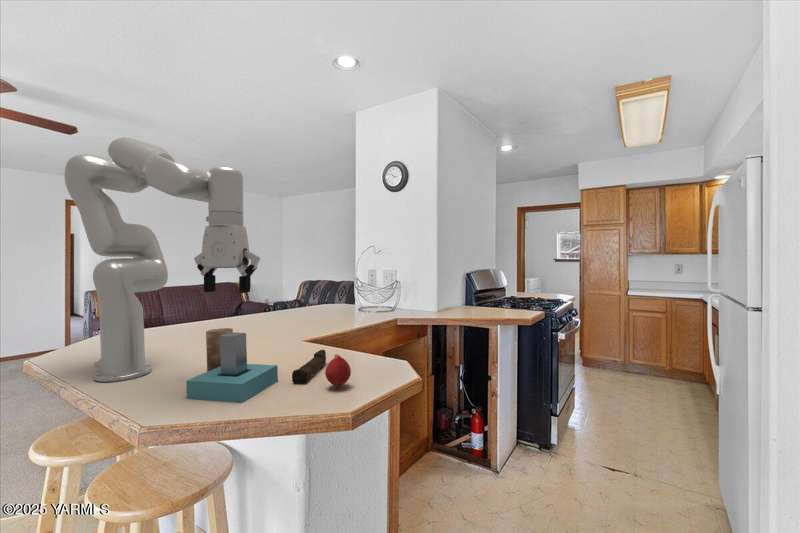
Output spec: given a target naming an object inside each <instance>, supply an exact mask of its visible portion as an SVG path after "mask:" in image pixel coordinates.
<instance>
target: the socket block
mask: <svg viewBox="0 0 800 533" xmlns="http://www.w3.org/2000/svg"><path fill="white" fill-rule="evenodd" d="M278 368H279V367H278V365H277V364H276V365H275V364H257V363H247V372H246V373H244V374H242V375H240V376H238V377H232V376H221V366H220V367H218V368H215V369H213V370H210V371H208V372H207V371H206V372H203V373H201V374H199V375H196V376H194V377H192V378H189V379H187V380H186V382H185V383H186V384H185V385H186V387H185V388H186V399H188V400H204V401H218V402H231V403H244V402H246V401H248V400H249V399H251V398H252V397H254V396H256V395H258V394H259V393H260V392H262V391H264V390H265V389H267V388H269V387H270V386H272V385H274V384H276V383H277V382H278V381H279V377H278V376H279V375H278V374H279V372H278Z"/></svg>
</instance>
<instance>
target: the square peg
mask: <svg viewBox="0 0 800 533" xmlns="http://www.w3.org/2000/svg"><path fill="white" fill-rule="evenodd" d="M247 349H248V348H247V332H234V331H233V332H231V333H228V334H225V335H221V336H220V353H221V376H232V377H238V376H240V375H242V374H244V373H246V372H247V364H248V359H247V358H248V352H247Z"/></svg>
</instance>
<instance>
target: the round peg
mask: <svg viewBox="0 0 800 533" xmlns="http://www.w3.org/2000/svg"><path fill="white" fill-rule="evenodd" d="M231 332H234V329H233V328H229V327H226V328H225V327H224V328H223V327H222V328H221V327H220V328H214V329H212V328H211V329H209V330H206V331H205V342H206V343H205V344H206V345H205V346H206V372H208V371H210V370H213V369H215V368H218V367H220V366H221V353H220V336H221V335H225V334H228V333H231Z"/></svg>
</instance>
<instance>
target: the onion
mask: <svg viewBox="0 0 800 533" xmlns="http://www.w3.org/2000/svg"><path fill="white" fill-rule="evenodd" d="M324 372H325V378H326V379H327V381H328V382H329V383H330V384H331V385H332V386H334V388H336V389H339V388H341V387H343V386H344V385H345V384H347V383H348V381H349V380H350V378H351V373H352V370H351V366H350V364H349V363H348V361H347V359H344V358H343V357H342V356H341V355H340V354H338V353H336V354H334V358H333V359H331V360H330V361H329V363H328V364H327V365H326V369H325V371H324Z"/></svg>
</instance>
